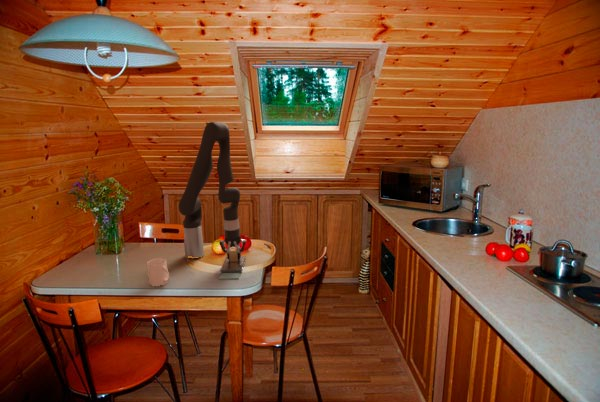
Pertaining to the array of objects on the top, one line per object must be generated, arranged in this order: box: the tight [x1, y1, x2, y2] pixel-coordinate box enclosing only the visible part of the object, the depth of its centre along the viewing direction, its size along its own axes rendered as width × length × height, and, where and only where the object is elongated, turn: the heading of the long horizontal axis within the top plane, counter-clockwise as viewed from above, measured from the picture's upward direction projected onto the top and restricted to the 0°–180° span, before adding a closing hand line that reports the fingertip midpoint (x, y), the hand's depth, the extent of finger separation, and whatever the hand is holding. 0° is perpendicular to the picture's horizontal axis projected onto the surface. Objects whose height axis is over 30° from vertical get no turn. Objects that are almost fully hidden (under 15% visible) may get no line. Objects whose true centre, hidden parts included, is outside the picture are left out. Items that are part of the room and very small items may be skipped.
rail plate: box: [220, 255, 247, 275], centre depth 213 cm, size 10×16×2 cm, turn 179°
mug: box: [146, 257, 170, 287], centre depth 196 cm, size 9×12×11 cm
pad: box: [219, 273, 241, 281], centre depth 202 cm, size 9×6×1 cm, turn 90°
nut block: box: [229, 247, 239, 263], centre depth 215 cm, size 4×4×8 cm
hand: (234, 259), depth 215 cm, fingers closed on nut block, 4 cm apart
